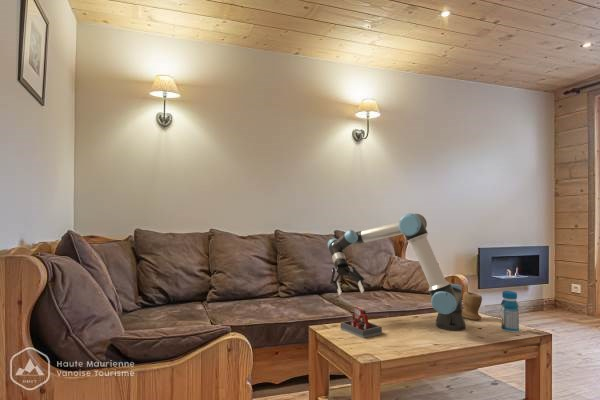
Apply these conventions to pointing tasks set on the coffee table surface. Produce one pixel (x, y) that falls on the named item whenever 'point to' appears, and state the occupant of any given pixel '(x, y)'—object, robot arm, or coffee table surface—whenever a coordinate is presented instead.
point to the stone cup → (471, 305)
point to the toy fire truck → (360, 319)
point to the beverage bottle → (510, 312)
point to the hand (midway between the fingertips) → (351, 292)
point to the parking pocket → (361, 332)
